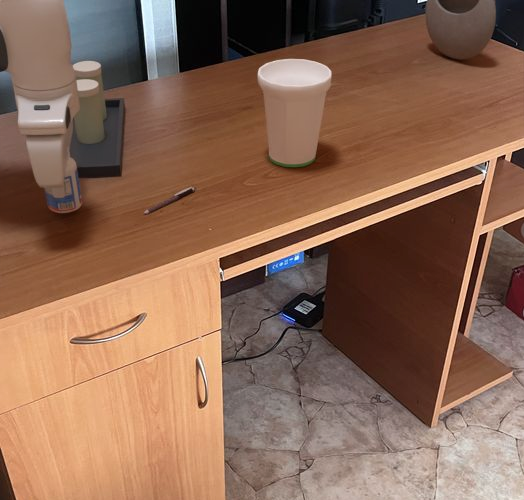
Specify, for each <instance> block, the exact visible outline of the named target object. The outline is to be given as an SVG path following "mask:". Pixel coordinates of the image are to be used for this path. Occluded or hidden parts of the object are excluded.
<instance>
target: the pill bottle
mask: <svg viewBox="0 0 524 500" xmlns="http://www.w3.org/2000/svg"><path fill="white" fill-rule="evenodd" d="M64 184H65V190H66V191H65V196H64V197H63V198H55V197H53V194H52V188H51V187H43V188H44V189H43V190H44V194H45V198H46V204H47V208H48V209H49V210H50V211H52V212H54V213H57V214H68V213H73V212H75V211H77V210H79V209H80V208H81V207H82V205H83V197H82V191H81V185H80V178H78V171H77V166H76V162H75V161H74V159H72V158H71V157H70V152H69V147H68V161H67V166H66V172H65V178H64Z"/></svg>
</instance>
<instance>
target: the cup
mask: <svg viewBox="0 0 524 500" xmlns="http://www.w3.org/2000/svg"><path fill="white" fill-rule="evenodd" d="M332 73H333V71H332V70H331V69H330V68H329V67H328V66H327V65H325V64H323V63H320V62H318V61H314V60H309V59H306V58H305V59H302V58H285V59H284V58H283V59H276V60H273V61H269V62H266V63H264V64H263V65H261V66H260V67H259V68H258V71H257V84H258V86H259V87H260V88H261V91H262V94H263V103H264V112H265V113H264V114H265V123H266V134H267V143H268V158H269V160H270V161H271V162H272V163H273V164H275V165H277V166H279V167H284V168H303V167H306V166H308V165H310V164H312V163H313V162H314V161H316V155H317V149H318V144H319V138H320V131H321V126H322V121H323V115H324V108H325V102H326V97H327V92H328V91H329V90H330V88H331V85H332Z"/></svg>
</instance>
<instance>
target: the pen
mask: <svg viewBox="0 0 524 500" xmlns="http://www.w3.org/2000/svg"><path fill="white" fill-rule="evenodd" d="M196 189H197V188H196V187H193V186H190V187H188V188H185V189H182V190H181V191H178V192H177V193H175V194H174V195H173V196H171V197H169V198H167V199H165V200H163V201H161V202H159V203H158V204H155V205H153V206H152V207H149V208H147V209H146V210H145V211H143V215H149V214H150V213H153V212H155V211H157V210H159V209H161V208H163V207H165V206H167V205H170V204H171V203H174V202H176V201H178V200H180V199H181V198H184V197H186V196H187V195H190V194H191V193H193V192H195V190H196Z"/></svg>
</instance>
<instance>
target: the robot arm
mask: <svg viewBox="0 0 524 500" xmlns="http://www.w3.org/2000/svg"><path fill="white" fill-rule="evenodd" d="M72 45H73V44H72V38H71V32H70V24H69V20H68V14H67V10H66V6H65V3H64V0H0V73H2V72H6V73H8V74H9V75H10V78H11V82H12V87H13V92H14V99H15V105H16V110H17V127H18V132H19V134H20V135H21V136H24V140H25V147H26V150H27V154H28V159H29V162H30V163H29V164H30V166H31V170H32V173H33V177H34V180H35V182H36V184H37V185H38V187H39V188H44V187H51V188H52V194H53V197H55V198H63V197H64V196H65V191H66V190H65V184H64V178H65V172H66V166H67V161H68V147H69V149H70V144H71V138H72V133H73V117H74V115H75V114H76V113H77V112H78V111H79V110H80V103H79V95H78V88H77V81H76V74H75V71H74V68H73V63H72V59H71V58H72V57H71V54H72V47H73V46H72Z"/></svg>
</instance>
